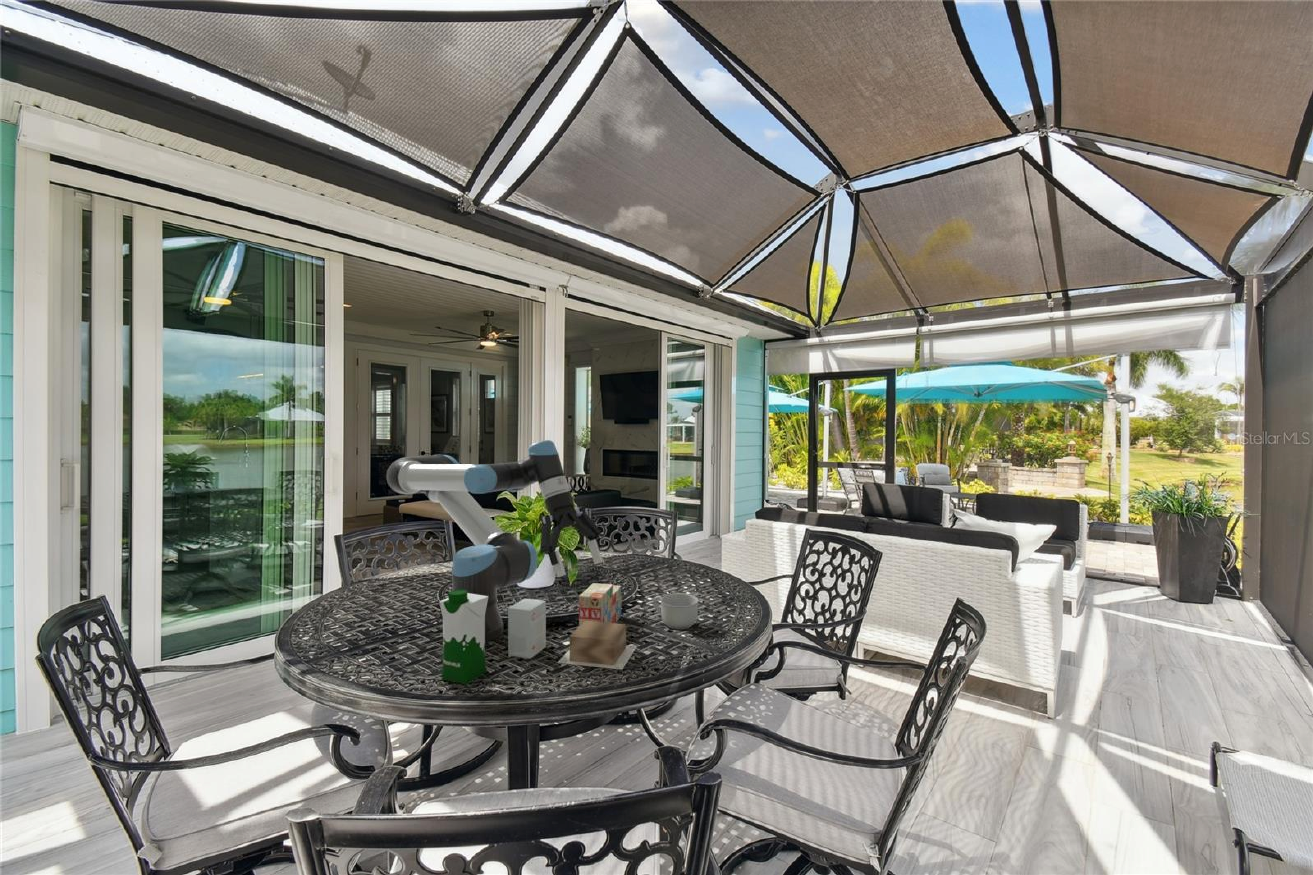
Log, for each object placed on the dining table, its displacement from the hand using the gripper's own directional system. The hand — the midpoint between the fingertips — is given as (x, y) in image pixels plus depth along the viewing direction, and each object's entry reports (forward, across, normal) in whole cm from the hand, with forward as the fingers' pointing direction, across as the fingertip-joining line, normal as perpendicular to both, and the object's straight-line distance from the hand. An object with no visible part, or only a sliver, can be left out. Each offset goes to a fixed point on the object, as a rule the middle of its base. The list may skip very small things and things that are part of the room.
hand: (580, 569), depth 158 cm
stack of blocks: (+18, +8, +9) cm, 21 cm away
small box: (+16, -18, +8) cm, 25 cm away
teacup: (+24, +23, -4) cm, 34 cm away
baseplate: (+22, -8, -6) cm, 24 cm away
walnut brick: (+21, -8, -6) cm, 23 cm away
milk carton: (+14, -35, +9) cm, 38 cm away
